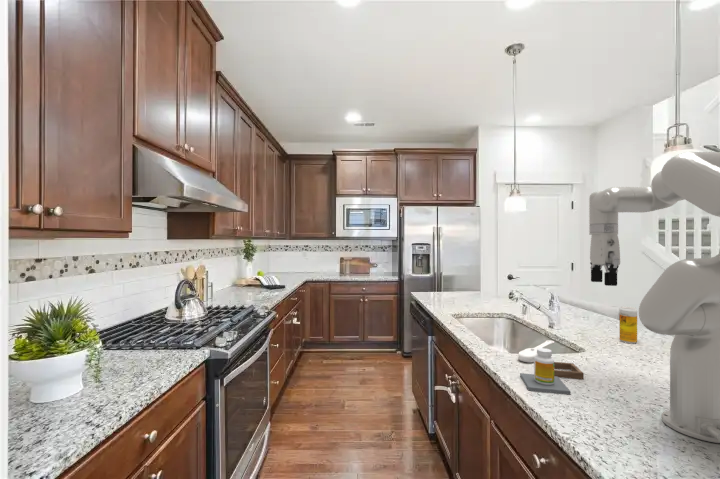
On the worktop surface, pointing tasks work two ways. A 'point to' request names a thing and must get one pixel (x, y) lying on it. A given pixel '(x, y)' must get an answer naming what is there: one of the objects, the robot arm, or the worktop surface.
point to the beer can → (628, 324)
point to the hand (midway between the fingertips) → (603, 283)
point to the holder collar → (572, 374)
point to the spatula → (531, 352)
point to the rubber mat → (535, 386)
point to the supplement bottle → (544, 367)
